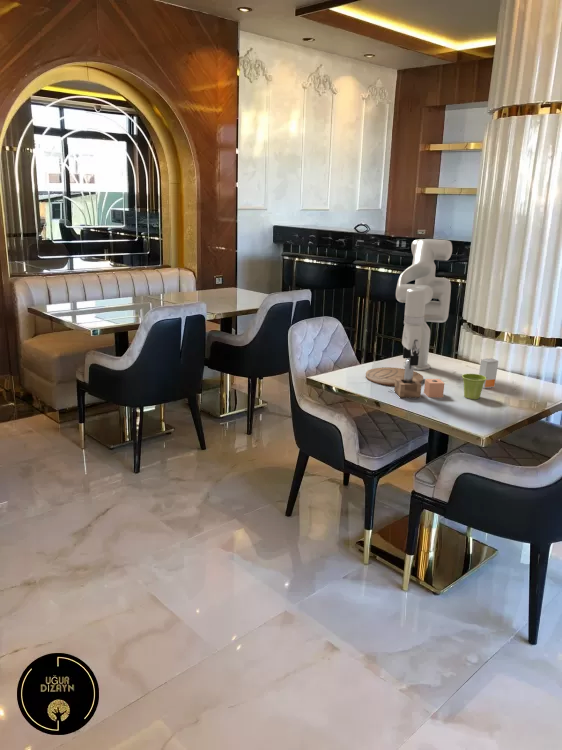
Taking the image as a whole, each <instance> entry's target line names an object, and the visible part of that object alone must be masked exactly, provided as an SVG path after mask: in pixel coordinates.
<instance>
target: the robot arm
mask: <svg viewBox="0 0 562 750" xmlns="http://www.w3.org/2000/svg"><path fill="white" fill-rule="evenodd" d="M411 253H412V256H413V259H412V264H411V265H410V266H408V267H407V268H406V269H404V270H403V272H402V273H401V274H400V275H399V277H398V280H397V284H396V289H395V299H396V300H397V301H398V302H399V303H402V304H403V303H405V305H404V318H403V319H404V320H403V325H404V326H403V331H402V337H401V344H402V346H403V353H402V358H403V359H410V365H411V366H414V370H413V371H424V370H425V371H426V370H429V369H431V364H430V363H428V361H429V360H428V359H429V349H430V339H431V329H430V326H429V325H428V324H427V322H431V323H445V322H447V320H448V318H449V312H450V303H451V290H452V283H451V281H450V279H449V278H446V277H438V276H437V277H436V270H437V269H436V267H437V266H436V264H435V261H448V260H449V259H450V258H451V256H452V253H453V243H452V241H450V240H447V239H440V238H439V239H435V238H425V239H423V238H419V239H415V240H413V241H412V242H411ZM412 281H415V282H414V283H410V282H412ZM432 299H437V300H438V301H437V300H432ZM405 363H406V361H404V362H403V364H402V366H403V367H404V368H405Z"/></svg>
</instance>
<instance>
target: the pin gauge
mask: <svg viewBox="0 0 562 750" xmlns="http://www.w3.org/2000/svg"><path fill="white" fill-rule="evenodd" d="M405 362H406V363H405V367H404V369H405V374H404V383H412V381H413V371H415V370H414V366H411V365H410V359H407V358H405Z"/></svg>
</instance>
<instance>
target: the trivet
mask: <svg viewBox="0 0 562 750" xmlns="http://www.w3.org/2000/svg"><path fill="white" fill-rule="evenodd" d="M404 374H405V368H399V367H387V366H386V367H375V368H371V369H368V370H367V371H365V379H366V380H367V381H369V382H371V383H373V384H376V385H380V384H381V385H380V386H384V385H386V387H391V386H395V378H404ZM413 378H415V379H416V380H417V381H418V382H419V383H420V384H421V385H422V383H423V382H424V376H423V375H422V374H421V373H419V372H418V371H416V370H413Z"/></svg>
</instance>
